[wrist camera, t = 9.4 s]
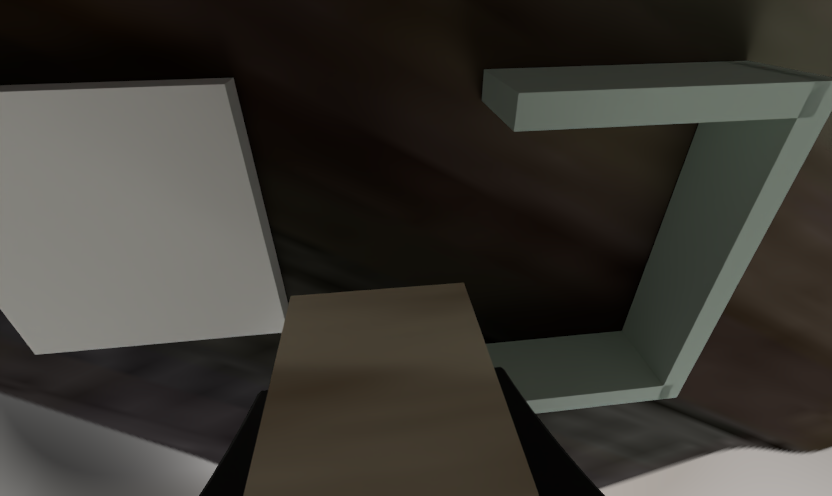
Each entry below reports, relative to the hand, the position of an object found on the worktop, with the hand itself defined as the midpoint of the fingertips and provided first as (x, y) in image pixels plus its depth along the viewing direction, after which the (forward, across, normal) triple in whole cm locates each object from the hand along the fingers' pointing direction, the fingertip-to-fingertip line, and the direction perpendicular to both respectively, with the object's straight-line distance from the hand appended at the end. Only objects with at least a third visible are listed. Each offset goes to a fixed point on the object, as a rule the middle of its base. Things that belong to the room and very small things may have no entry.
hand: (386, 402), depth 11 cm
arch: (+7, -9, 0) cm, 11 cm away
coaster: (+7, +9, -2) cm, 12 cm away
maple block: (+2, 0, 0) cm, 2 cm away
